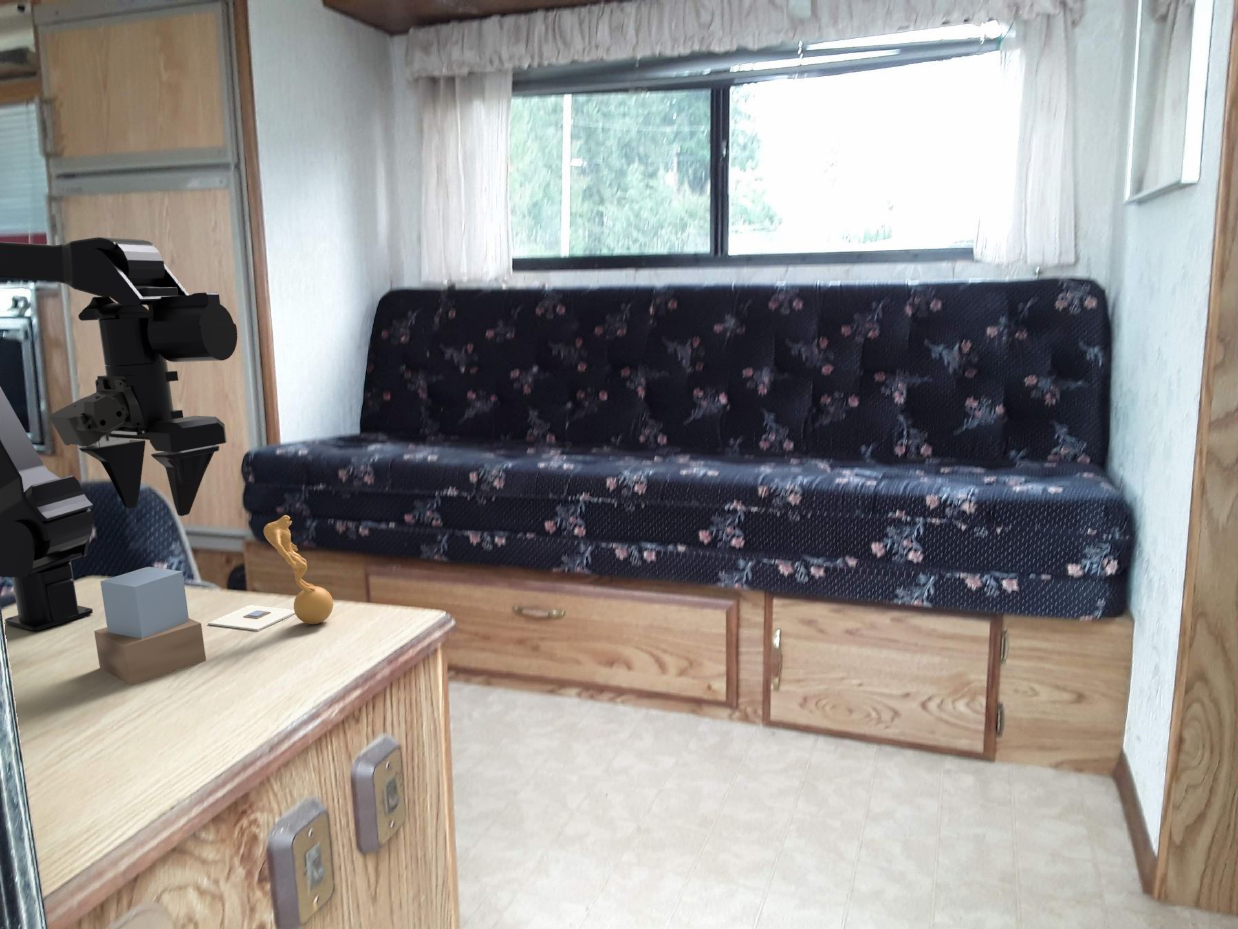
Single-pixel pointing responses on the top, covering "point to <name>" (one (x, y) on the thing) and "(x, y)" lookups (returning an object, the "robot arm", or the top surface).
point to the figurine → (299, 575)
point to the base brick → (150, 652)
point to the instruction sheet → (253, 617)
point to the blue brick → (144, 602)
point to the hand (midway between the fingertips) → (156, 511)
